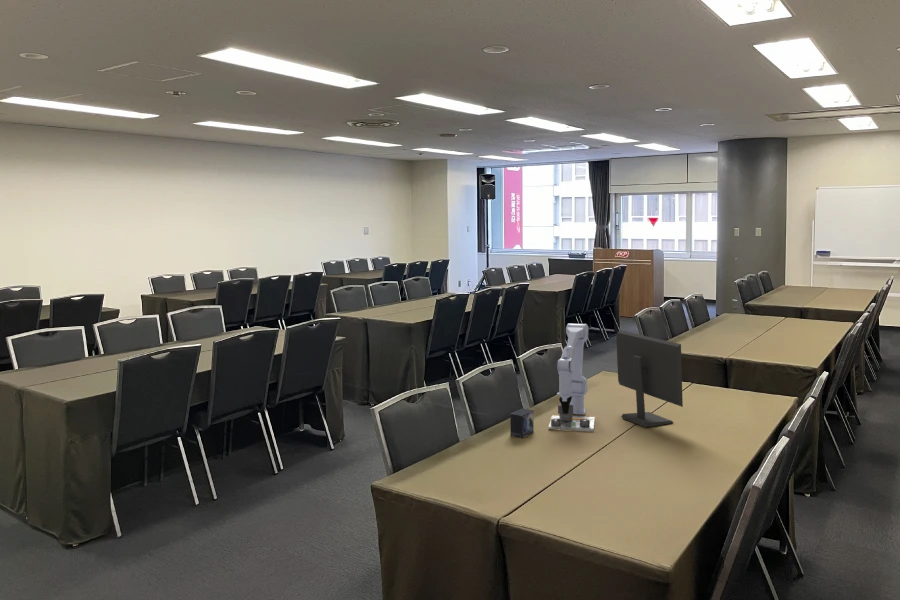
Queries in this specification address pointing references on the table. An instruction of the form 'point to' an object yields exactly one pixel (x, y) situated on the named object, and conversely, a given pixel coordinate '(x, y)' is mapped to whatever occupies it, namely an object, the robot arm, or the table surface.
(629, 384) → the computer monitor
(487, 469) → the table surface
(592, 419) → the plate
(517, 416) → the small box
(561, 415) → the knob
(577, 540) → the table surface
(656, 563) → the table surface
